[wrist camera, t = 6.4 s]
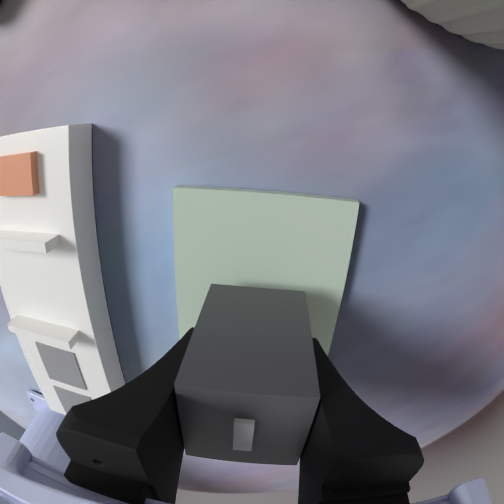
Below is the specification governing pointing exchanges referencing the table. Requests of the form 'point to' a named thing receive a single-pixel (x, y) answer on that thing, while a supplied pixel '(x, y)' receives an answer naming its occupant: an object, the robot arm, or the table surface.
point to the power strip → (55, 264)
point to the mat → (262, 248)
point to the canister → (466, 18)
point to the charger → (249, 377)
